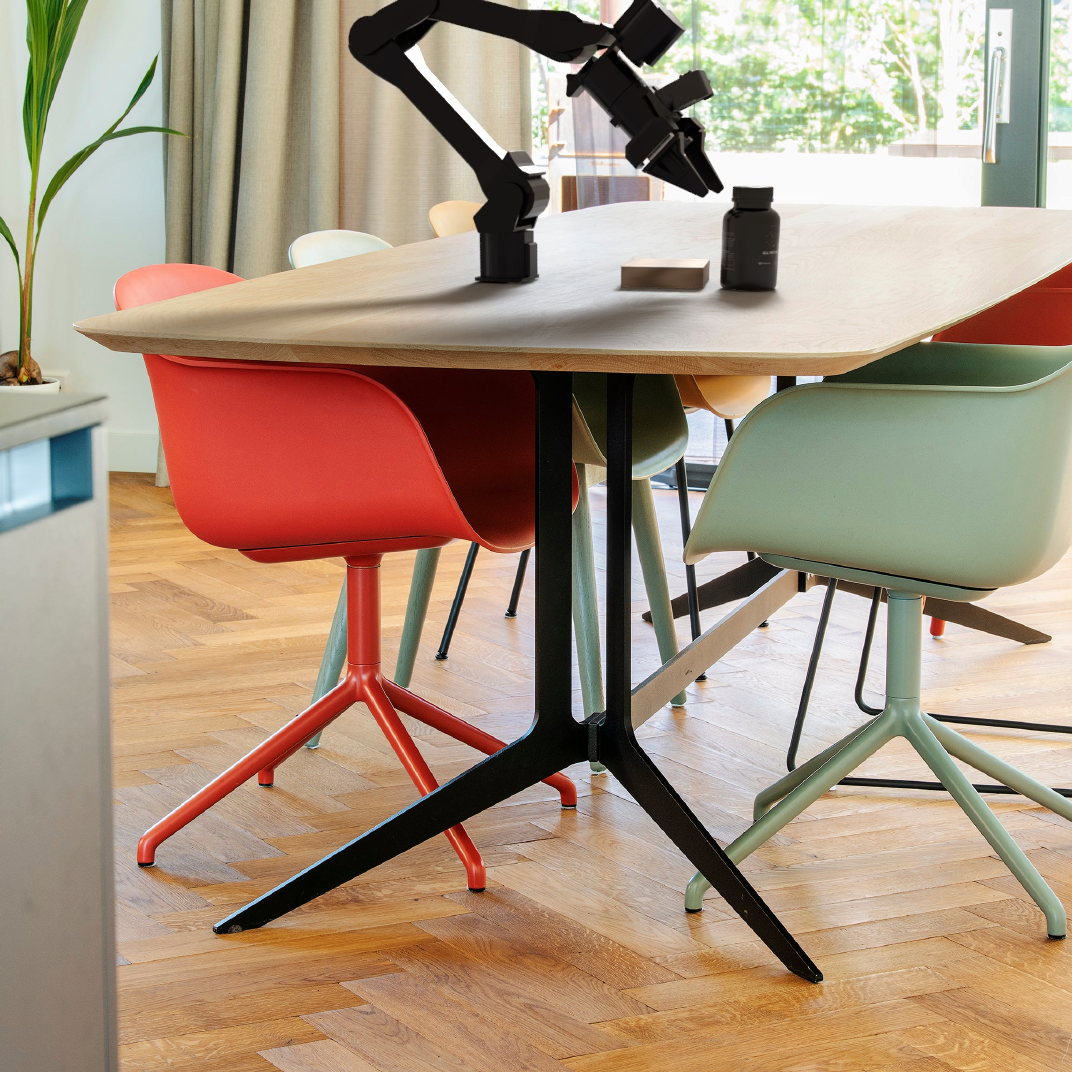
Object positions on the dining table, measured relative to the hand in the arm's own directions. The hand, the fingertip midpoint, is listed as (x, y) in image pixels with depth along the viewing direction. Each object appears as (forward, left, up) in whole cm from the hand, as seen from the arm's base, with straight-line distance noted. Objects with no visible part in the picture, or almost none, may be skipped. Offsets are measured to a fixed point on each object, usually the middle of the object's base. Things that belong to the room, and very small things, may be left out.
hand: (714, 192), depth 155 cm
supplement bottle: (+5, 0, -11) cm, 12 cm away
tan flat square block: (-6, +2, -11) cm, 13 cm away
